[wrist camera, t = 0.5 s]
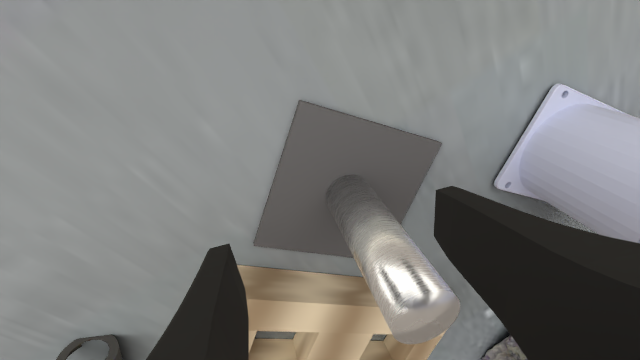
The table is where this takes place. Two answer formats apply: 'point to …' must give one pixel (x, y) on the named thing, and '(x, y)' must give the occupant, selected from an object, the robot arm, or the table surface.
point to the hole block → (319, 318)
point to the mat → (331, 163)
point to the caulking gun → (114, 351)
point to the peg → (391, 264)
